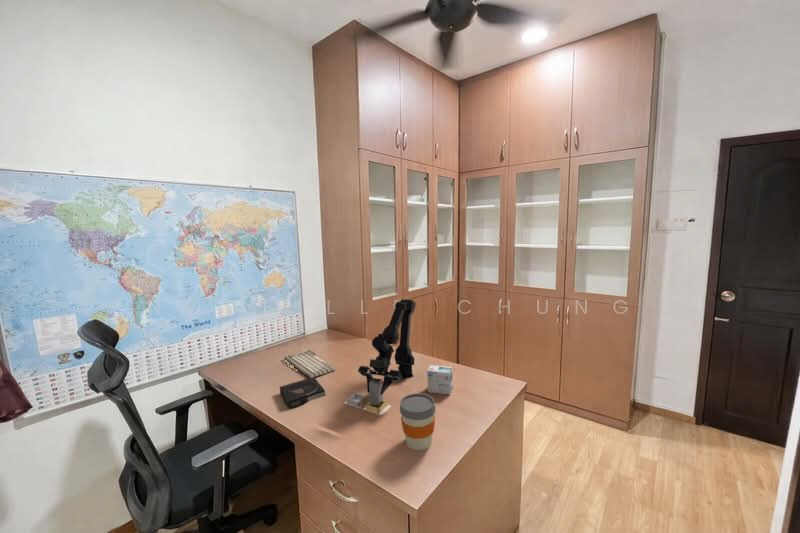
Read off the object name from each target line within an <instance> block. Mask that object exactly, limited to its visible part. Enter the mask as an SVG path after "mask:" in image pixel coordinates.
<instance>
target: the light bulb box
mask: <svg viewBox="0 0 800 533" xmlns="http://www.w3.org/2000/svg"><path fill="white" fill-rule="evenodd" d="M426 377H427V378H426V379H427V392H428V393H431V394H438V393H439V394H440V395H446V394H448V395H447V396H451V395H452V391H453V390H454V388H453V387H454V383H453V367H452V366H443V365H434V364H430V365H429V367H428V369H427V370H426ZM439 394H438V395H439ZM450 394H451V395H450Z"/></svg>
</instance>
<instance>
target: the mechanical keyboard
mask: <svg viewBox="0 0 800 533" xmlns="http://www.w3.org/2000/svg"><path fill="white" fill-rule="evenodd" d="M320 358H321V357H320V356H318V355H316V352H315V351H314V350H312V349H311V348H309V349H304V350H301V351H299V352H296V353H293V354H288V355H284V359H283V361H284V360H287V361H288V362H289V363H290V364H291V365H293V366H294V368H295V369H297V370H298V371H299V372H298V373H300V374H302V376H304V377H306V379H308V378H312V377H314V378H315V379H317V378H320V377H322V376H326V375H327V374H330V373H332V372H334V371H336V369H335V366H333V365H331V364H330V363H328V362H327V361H325V360H324V359H323V358H322V359H323V360H322V359H320ZM284 362H285V361H284ZM286 364H287V362H286ZM286 364H285V365H286ZM290 364H289V366H290Z"/></svg>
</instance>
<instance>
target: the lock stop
mask: <svg viewBox="0 0 800 533" xmlns="http://www.w3.org/2000/svg"><path fill="white" fill-rule="evenodd" d="M382 382H383V381H382V378H375V377H373V378H372V380H371V381H370V382H369V390H370V392H369V393H370V406H373V407H376V408H379V407H380V406H381V405H383V400H384V399H383V394H382V395H381V394H380V393H381V389H382V386H383V383H382Z"/></svg>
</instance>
